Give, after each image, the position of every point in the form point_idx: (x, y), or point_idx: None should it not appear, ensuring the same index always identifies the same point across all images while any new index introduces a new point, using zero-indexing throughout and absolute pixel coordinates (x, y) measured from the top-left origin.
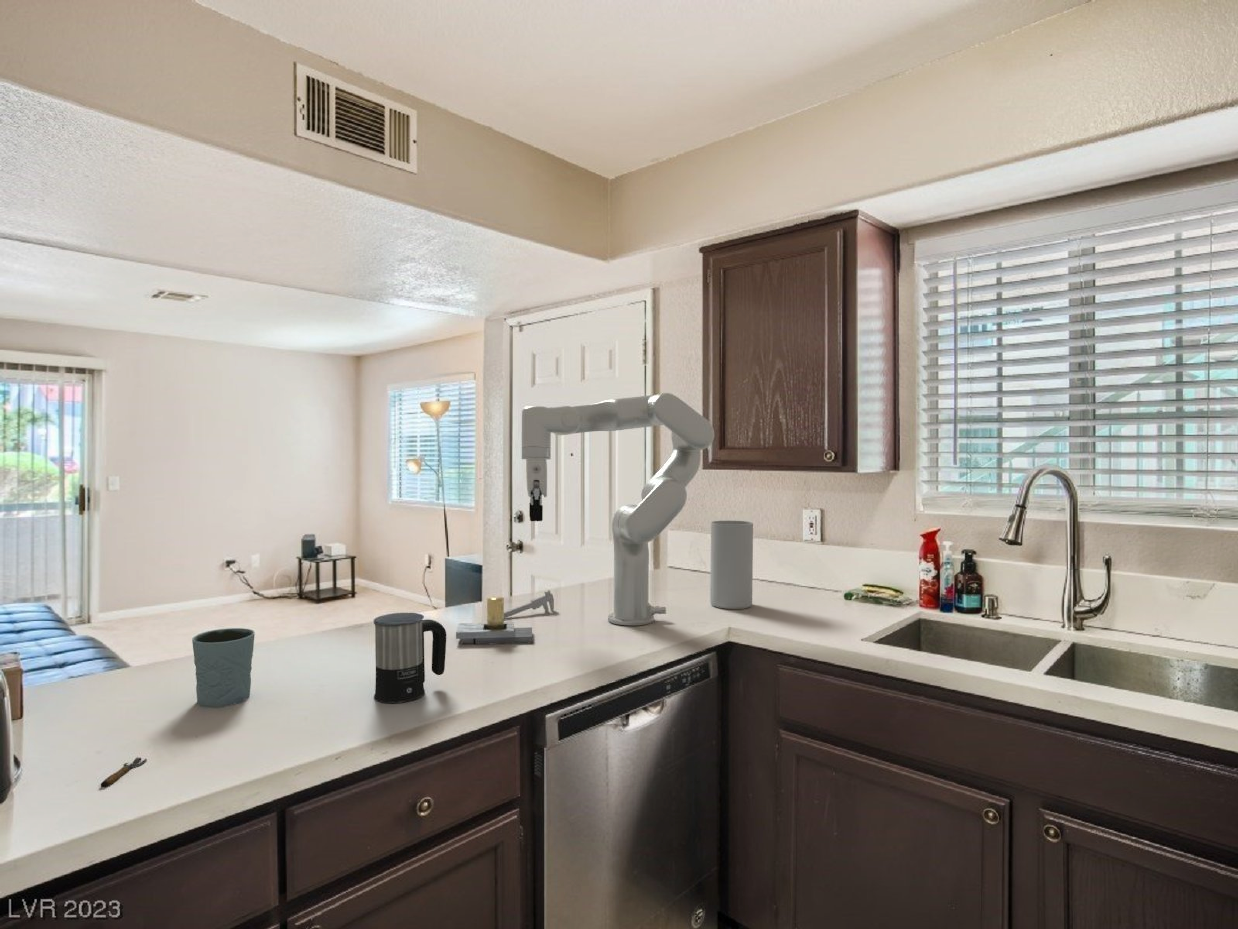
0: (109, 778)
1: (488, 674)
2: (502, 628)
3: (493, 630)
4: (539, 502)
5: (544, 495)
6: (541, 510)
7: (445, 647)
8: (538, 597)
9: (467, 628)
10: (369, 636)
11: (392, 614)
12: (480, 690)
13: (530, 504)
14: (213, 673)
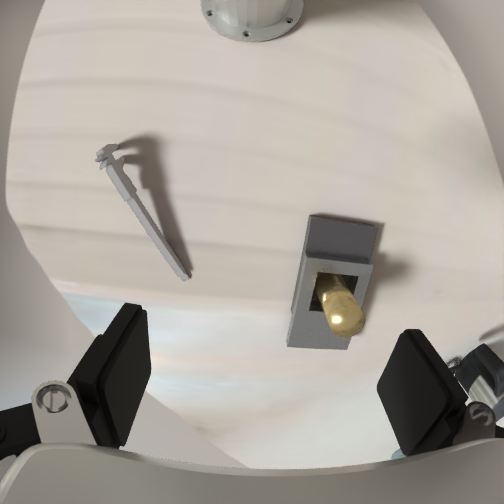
0: None
1: (469, 296)
2: (343, 281)
3: (358, 297)
4: (496, 426)
5: (92, 445)
6: (445, 377)
7: (497, 356)
8: (114, 183)
9: (328, 335)
10: (255, 421)
11: None
12: (497, 303)
13: (125, 439)
14: None
